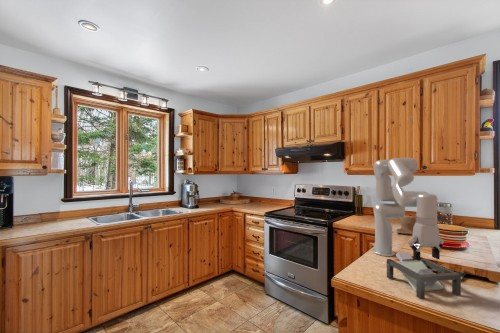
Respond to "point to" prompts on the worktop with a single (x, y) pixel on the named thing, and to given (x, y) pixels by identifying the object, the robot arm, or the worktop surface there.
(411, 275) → the frame
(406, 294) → the worktop surface
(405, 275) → the trapdoor
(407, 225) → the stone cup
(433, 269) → the decorative rock
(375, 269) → the worktop surface
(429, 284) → the grey cube
